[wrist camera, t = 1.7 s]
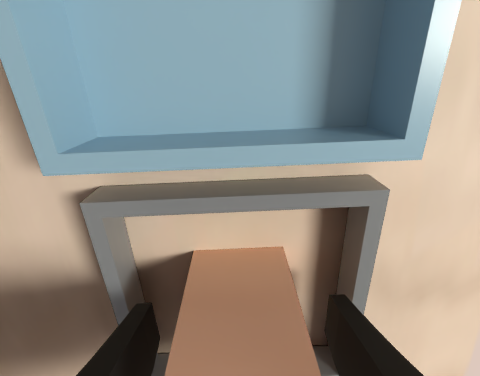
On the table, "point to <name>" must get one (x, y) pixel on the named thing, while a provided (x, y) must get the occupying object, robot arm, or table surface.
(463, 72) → the table surface
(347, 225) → the charcoal square frame
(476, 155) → the table surface
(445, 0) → the slate-blue tray
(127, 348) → the robot arm
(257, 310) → the terracotta block
